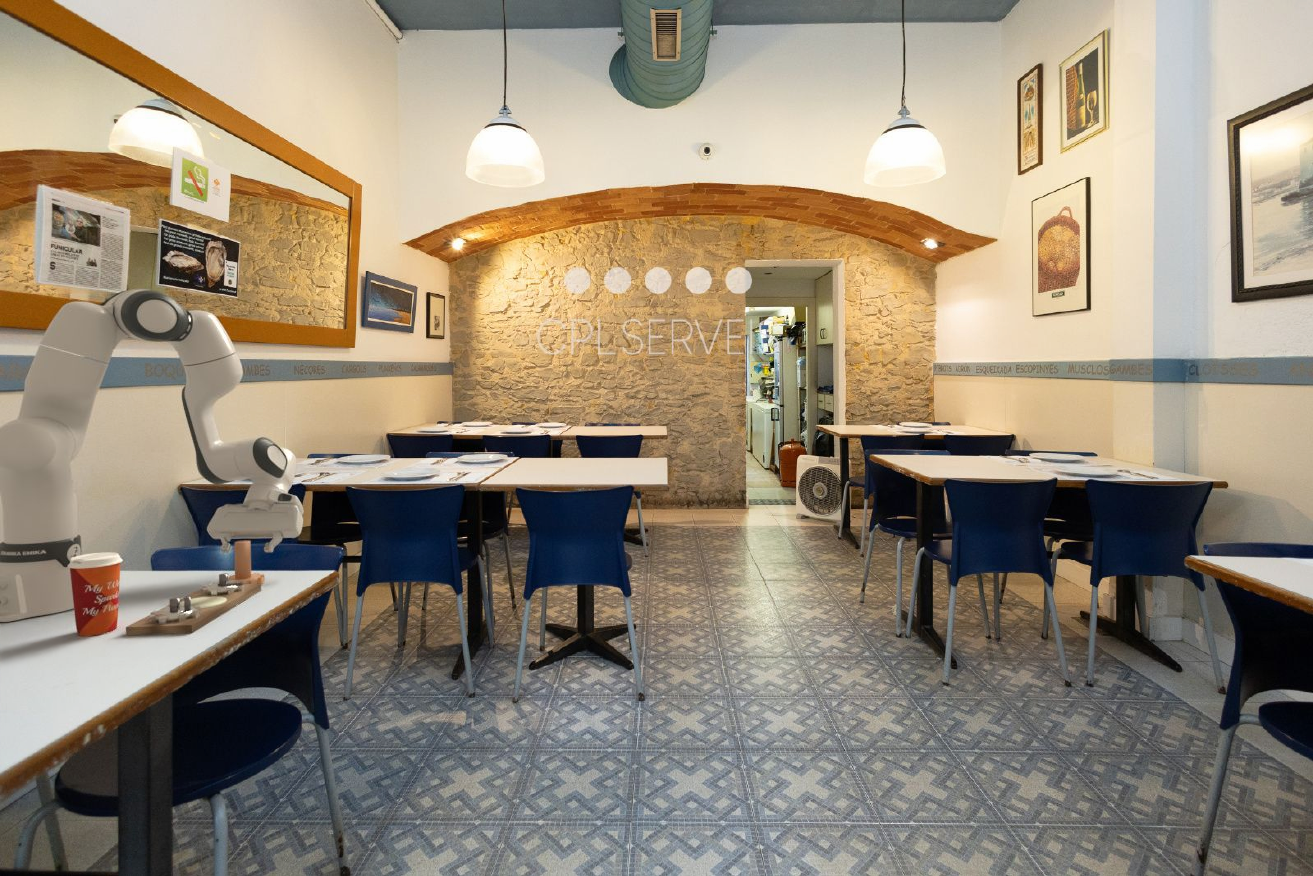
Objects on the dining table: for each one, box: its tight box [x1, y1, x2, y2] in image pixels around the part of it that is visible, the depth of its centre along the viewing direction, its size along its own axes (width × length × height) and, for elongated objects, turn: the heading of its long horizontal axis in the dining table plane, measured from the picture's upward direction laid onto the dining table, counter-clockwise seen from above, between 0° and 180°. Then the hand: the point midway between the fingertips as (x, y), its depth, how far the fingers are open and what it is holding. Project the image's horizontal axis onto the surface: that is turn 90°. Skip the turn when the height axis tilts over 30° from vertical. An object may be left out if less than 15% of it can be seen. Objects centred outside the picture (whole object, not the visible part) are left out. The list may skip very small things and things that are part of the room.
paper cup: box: [67, 551, 123, 637], centre depth 120 cm, size 8×8×14 cm
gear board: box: [125, 584, 262, 636], centre depth 133 cm, size 11×28×2 cm, turn 8°
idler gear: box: [228, 539, 265, 585], centre depth 152 cm, size 8×8×10 cm
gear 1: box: [148, 596, 200, 624], centre depth 124 cm, size 8×8×4 cm
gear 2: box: [201, 573, 245, 596], centre depth 141 cm, size 8×8×4 cm
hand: (246, 551), depth 154 cm, fingers open, 8 cm apart
